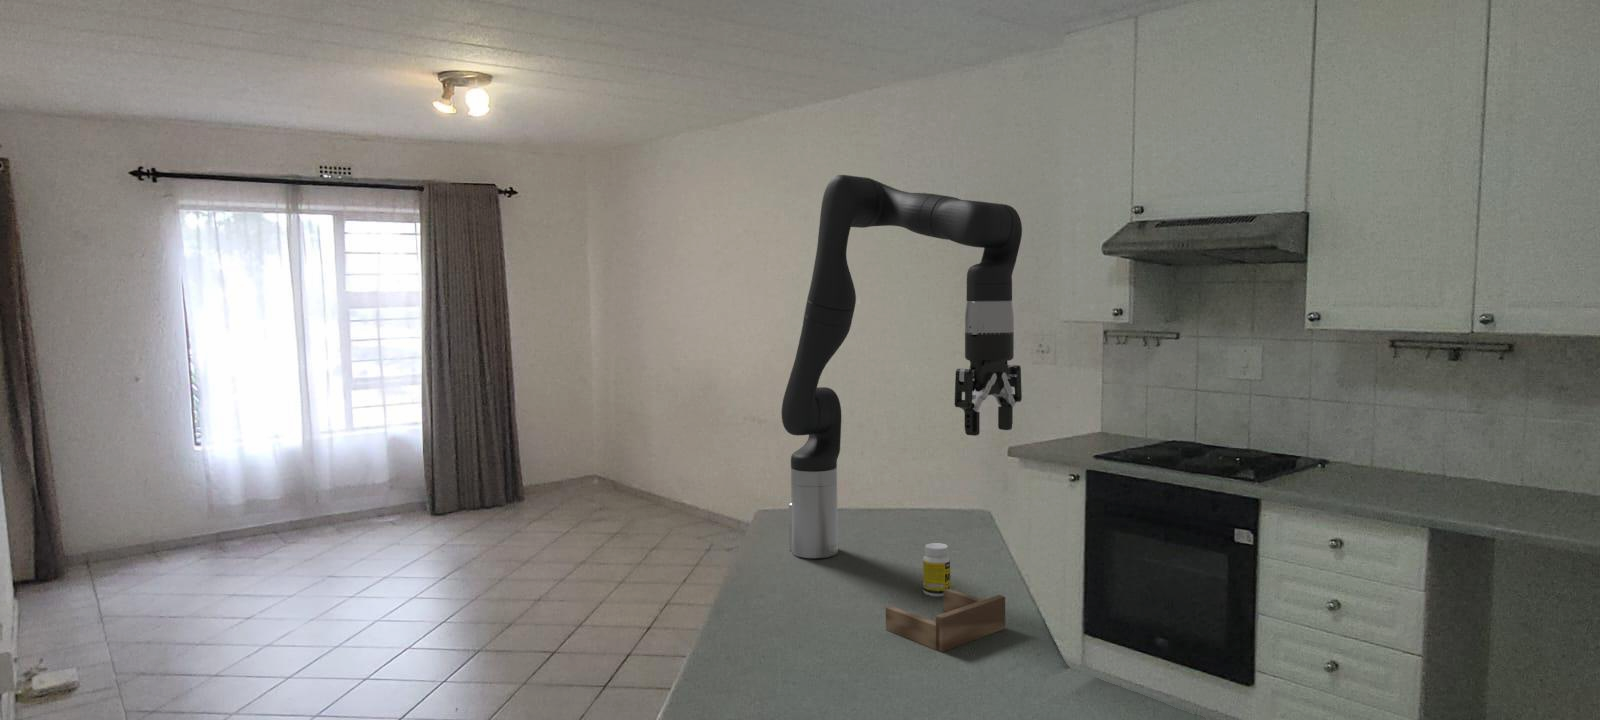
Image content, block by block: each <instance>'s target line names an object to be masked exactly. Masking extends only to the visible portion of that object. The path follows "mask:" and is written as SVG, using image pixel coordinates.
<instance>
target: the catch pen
mask: <svg viewBox="0 0 1600 720" xmlns="http://www.w3.org/2000/svg"><path fill="white" fill-rule="evenodd" d="M943 593H944V596H943V612H944V613H940V614H937V615H935V621H934V620H932V619H928V618H925V617H923V616H920V615H918V614H914V613H912V612H909V611H906V610H904V609H901V608H898V607H896V606H893V605H890V606H887V607H886V606H885V631H888V632H890V633H893V634H895V635H898V636H900V637H903V638H906V639H907V640H910V641H913V642H915V643H918V644H920V645H923V646H926V647H928V648H930V649H934V650H936V651H939V652H941V653H944V652H947V651H949V650H951V649H956V648H957V647H959V646H962V645H965V644H968V643H970V642H974V641H975V640H978V639H981V638H984V637H986V636H989V635H992V634H994V633H997V632H999V631H1002V630H1006V596H1004V595H1001V594H997V595H995V596H991V597H989V598H985V599H983V598H981V597H977V596H974V595H970V594H967V593H965V592H961V591H958V590H954V589H952V588H950V589H949V588H948V589H945V590H943Z"/></svg>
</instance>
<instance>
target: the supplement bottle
mask: <svg viewBox="0 0 1600 720" xmlns="http://www.w3.org/2000/svg"><path fill="white" fill-rule="evenodd" d="M924 554H925V555H924V556H923V557H922V583H923V584H922V590H923V594H925V595H927V596H931V597H944V593H943V590H945V589H948V588H949V589H951V559H950V557H949V556H948V555H949V546H948V544H945V543H939V542H932V543H927V544H925V545H924Z"/></svg>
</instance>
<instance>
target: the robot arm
mask: <svg viewBox="0 0 1600 720" xmlns="http://www.w3.org/2000/svg"><path fill="white" fill-rule="evenodd" d="M885 226H886V227H888V226H892V227H900V228H904V229H906V230H908V231H911V232H912V233H915V234H918V235H921V236H926V237H929V238H936V239H939V240H945V241H951V242H953V243H957V244H960V245H964V246H967V247H971V248H972V247H973V248H983V253H982V257H981V260H980V262H979V263H976V264H974V265H971V266H970V267H969V268H968V269H967V273H966V305H965V306H966V307H965V312H964V313H965V315H964V358H965V360H967V361H969V368H957V369H956V370H955V379H954V381H955V382H954V383H955V384H954V385H955V386H954V407H955V408H960V409H962V410H963V412H964V432H965V434H966V436H974V437H976V436H979V435H980V432H981V431H980V411H979V410H980V407H981V406H982V403H983V402H984V401H985V400H987V398H988V397H989V396H993V397H994V398H995V400H996V402H997V404H998V405H999V406H998V408H997V416H998V417H997V419H998V420H997V421H998V422H997V427H998V430H1001V431H1002V430H1003V431H1011V430H1012V429H1013V421H1014V420H1013V415H1014V414H1013V413H1014V411H1013V409H1014V407H1015V406H1016V403H1020V402H1022V398H1023V395H1022V392H1023V391H1022V370H1021V365H1017V364H1016V365H1013V364H1009V363H1008V362H1009V361H1012V360H1013V359H1014V357H1015V356H1014V353H1015V352H1014V351H1015V350H1014V348H1015V347H1014V344H1015V343H1014V342H1015V341H1014V338H1015V337H1014V335H1015V332H1014V330H1015V329H1014V326H1015V324H1014V320H1015V318H1014V317H1015V315H1014V310H1013V273H1014V270H1015V266H1016V262H1017V258H1018V253H1019V250H1020V245H1021V240H1022V236H1023V225H1022V220H1021V217H1020V215H1019V213H1018V211H1017V210H1016V209H1015V208H1014V207H1013V206H1011V205H1009V204H1005V203H997V202H986V201H980V200H968V199H967V200H966V199H961V198H958V197H954V196H949V195H942V194H935V193H927V192H909V191H903V190H900V189H897V188H894V187H892V186H889V185H887V184H884V183H882V182H880V181H877V180H875V179H873V178H870V177H865V176H855V175H848V174H837V175H835V176H834V177H832V178H830V180H829V182H827V185H826V187H825V189H824V193H823V196H822V201H821V208H820V217H819V226H818V235H817V246H816V253H815V259H814V265H813V271H812V277H811V281H810V286H809V291H808V294H807V299H806V303H805V308H804V309H805V310H804V313H803V321H802V327H801V332H800V337H799V341H798V345H797V350H796V353H795V358H794V361H793V365H792V369H791V372H790V375H789V379H788V382H787V386H786V388H785V392H784V395H783V399H782V404H781V422H782V425H783V427H784V429H785V430H786V432H787V433H788V434H790V435H793V436H808V438H807V440H806V442H805V443H804V444H803V445H802V446H801V447H800V448H799V449H797V450H795V451H794V452H793V453H792V454H791V456H790V483H791V484H790V487H791V488H790V490H791V491H790V493H791V503H789V504H788V535H789V536H788V538H789V540H788V542H789V547H788V548H789V549H788V550H789V551H791V553H792V555H794V556H795V557H798V558H799V557H800V558H805V559H824V558H830V557H833V556H835V555H837V554H838V552H839V545H838V544H839V543H838V542H839V541H838V539H839V538H838V534H839V530H838V524H839V523H838V519H839V518H838V459H839V456H840V452H841V437H842V435H841V433H842V407H841V401H840V398H839V396H838V395H837V393H836V392H835V390H833V389H832V388H830V387H823V386H821V387H820V386H818V384H819V381H820V378H821V376H822V373H823V371H824V369H825V368H826V365H828V363H829V362H830V360H831V359H832V357H834V355H835V353H837V351H838V349H840V347H841V346H842V344H843V343H844V341H845V340H846V338H847V337H848V335H849V333H850V329H851V326H852V321H853V318H854V313H855V308H856V302H857V295H856V289H855V285H854V281H853V278H852V275H851V272H850V268H849V265H848V260H847V259H848V258H847V257H848V256H847V251H848V250H847V249H848V242H849V236H850V231H851V228H859V229H860V228H862V229H865V228H869V227H885ZM1013 388H1014V390H1013ZM1013 391H1014V393H1013ZM963 393H964V399H963Z"/></svg>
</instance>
